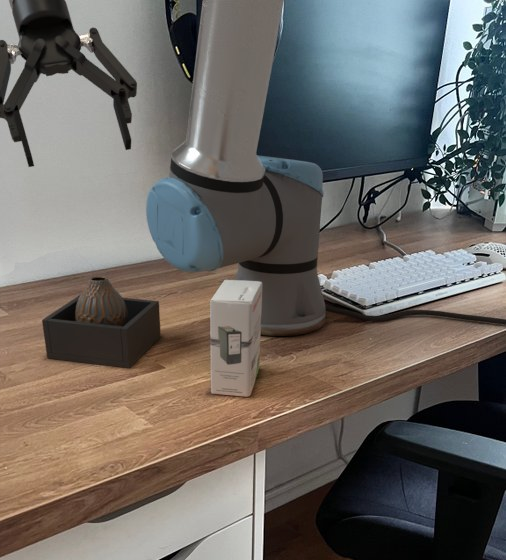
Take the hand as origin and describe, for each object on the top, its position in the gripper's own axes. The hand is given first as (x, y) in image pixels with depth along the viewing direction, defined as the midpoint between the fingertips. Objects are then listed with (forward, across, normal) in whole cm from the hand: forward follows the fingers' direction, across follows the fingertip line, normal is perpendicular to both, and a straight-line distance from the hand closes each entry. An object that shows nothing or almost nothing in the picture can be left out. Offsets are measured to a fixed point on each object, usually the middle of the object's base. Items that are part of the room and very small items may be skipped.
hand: (80, 153), depth 95 cm
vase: (+26, +4, 0) cm, 26 cm away
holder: (+27, +4, -1) cm, 27 cm away
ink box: (+37, -10, +11) cm, 40 cm away
